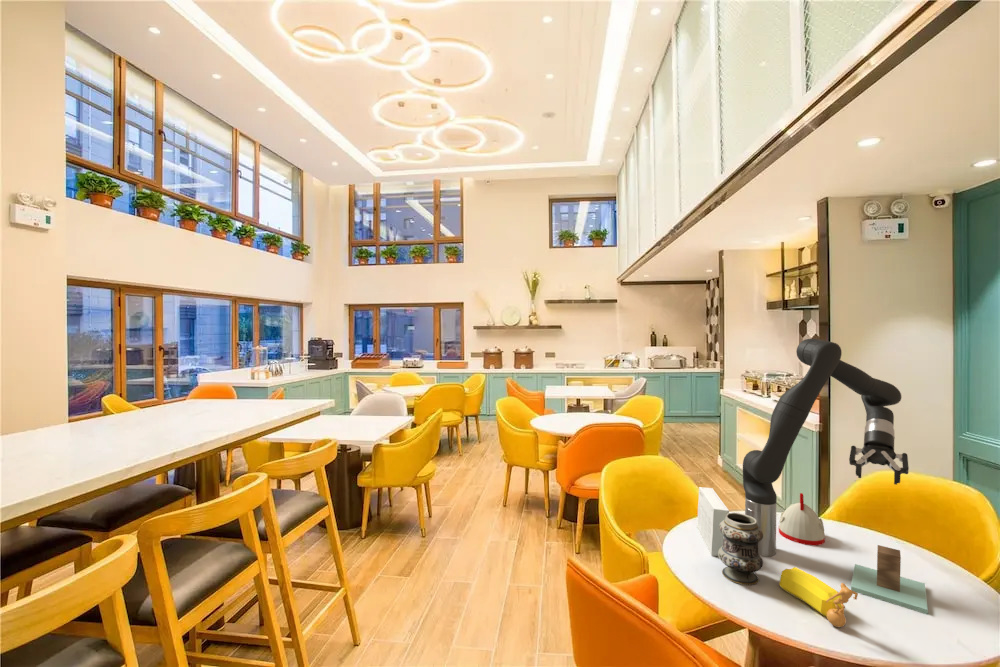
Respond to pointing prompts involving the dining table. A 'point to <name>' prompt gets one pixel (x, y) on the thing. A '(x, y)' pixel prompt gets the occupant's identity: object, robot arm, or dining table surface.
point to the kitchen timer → (801, 524)
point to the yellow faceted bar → (809, 590)
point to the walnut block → (888, 568)
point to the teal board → (908, 596)
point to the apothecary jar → (740, 548)
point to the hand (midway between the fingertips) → (877, 480)
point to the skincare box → (711, 519)
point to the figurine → (836, 614)
